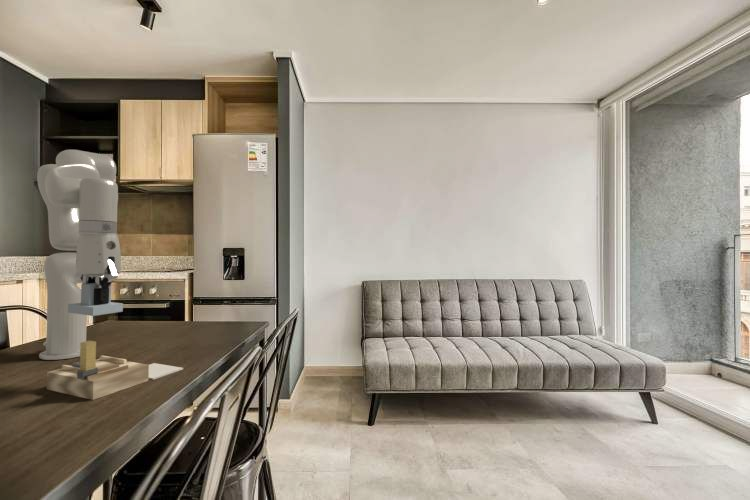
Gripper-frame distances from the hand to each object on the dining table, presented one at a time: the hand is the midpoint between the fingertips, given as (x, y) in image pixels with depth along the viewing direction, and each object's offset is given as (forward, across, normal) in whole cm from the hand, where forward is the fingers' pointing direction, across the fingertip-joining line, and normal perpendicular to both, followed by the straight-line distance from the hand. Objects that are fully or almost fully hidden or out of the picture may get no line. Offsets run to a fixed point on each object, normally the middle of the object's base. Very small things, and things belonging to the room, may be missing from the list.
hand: (96, 302), depth 90 cm
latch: (+15, -6, +6) cm, 18 cm away
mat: (+20, -6, -11) cm, 23 cm away
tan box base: (+20, -3, +1) cm, 20 cm away
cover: (+2, 0, 0) cm, 2 cm away
